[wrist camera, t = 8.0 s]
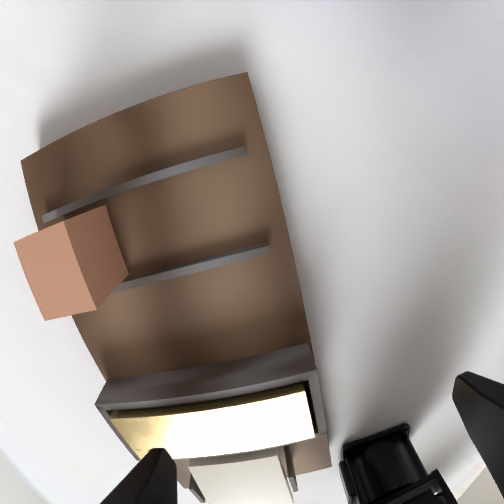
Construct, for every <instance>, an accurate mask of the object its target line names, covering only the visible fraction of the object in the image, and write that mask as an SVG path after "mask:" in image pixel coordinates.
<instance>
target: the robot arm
mask: <svg viewBox="0 0 504 504" xmlns="http://www.w3.org/2000/svg"><path fill="white" fill-rule="evenodd" d="M452 398H453V401H454V403H455V406H456V408H457V410H458V412H459V414H460V416H461V418H462V421H463V423H464V425H465V427H466V430H467V432H468V434H469V436H470V438H471V440H472V441H473V443H474V445H475V446H476V448H477V450H478V452H479V453H480V455H481V457H482V459H483V460H484V462H485V464H486V466H487V468H488V469H489V471H490V473H491V475H492V477H493V479H494V480H495V482H496V484H497V486H498V488H499V490H500V492H501V494H502V496H503V498H504V384H502V383H499V382H496V381H493V380H491V379H488V378H485V377H483V376H480V375H477V374H475V373H472V372H469V371H466V372H463V373H461V374H459V375H458V376H457V377H456V379H455V383H454V388H453V393H452ZM409 433H410V426H409V424H408V423H406V424H403V425H400V426H398V427H395V428H393V429H390V430H388V431H385V432H382V433H379V434H377V435H374V436H371V437H368V438H365V439H362V440H359V441H356V442H353V443H350V444H346V445H344V446H343V447H342V459H343V461H340V463H339V470H340V477H341V480H342V484H343V487H344V490H345V494H346V497H347V501H348V504H458V503H457V501H456V499H455V498H454V496H453V494H452V492H451V491H450V489H449V488H448V486H447V484H446V483H445V481H444V479H443V478H442V476H441V474H440V473H439V471H438V470H437V469H435V470H434V471H432V472H431V473H430V474H429V475H428V474H427V472H426V470H425V468H424V466H423V464H422V462H421V460H420V459H419V457H418V455H417V453H416V451H415V449H414V447H413V445H412V443H411V441H410V440H409ZM436 492H437V493H438V494H436V495H434V493H436ZM100 504H177V466H176V463H175V461H174V460H173V458H172V457H171V455H170V454H169V453H168V451H167V450H166V449H165V448H152V449H150V450H149V452H148V453H147V454H146V455H145V456H144V457H143V458H142V459H141V460H140V461H139V463H138V464H137V465H136V466H135V467H134V468H133V469H132V470H131V471H130V472H129V473H128V475H127V476H126V477H125V478H124V479H123V480H122V481H121V482H120V483H119V484H118V485H117V486H116V487H115V488H114V489H113V491H112V492H111V493H110V494H109V495H108V496H107V497H106V498H105V499H104V500H103V501H102V502H101V503H100Z"/></svg>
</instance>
